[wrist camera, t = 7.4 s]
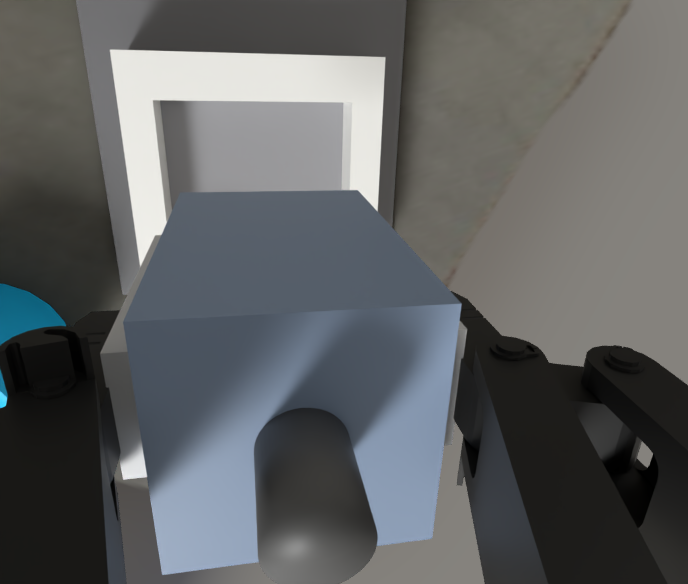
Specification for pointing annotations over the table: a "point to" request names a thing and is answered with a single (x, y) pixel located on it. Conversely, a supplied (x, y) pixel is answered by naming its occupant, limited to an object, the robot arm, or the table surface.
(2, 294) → the mug
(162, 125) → the socket
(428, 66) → the table surface
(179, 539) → the plug
